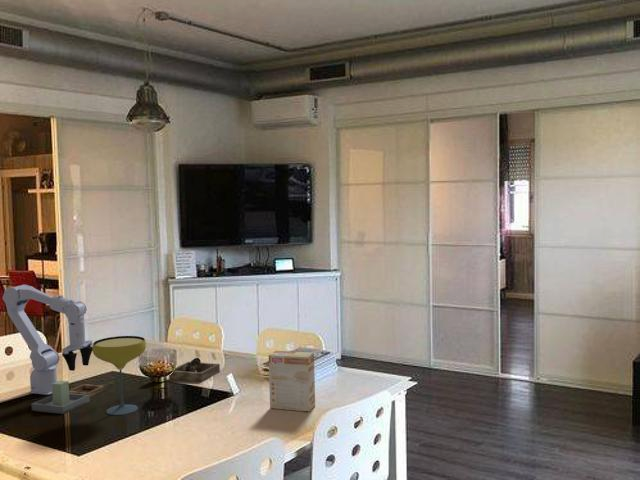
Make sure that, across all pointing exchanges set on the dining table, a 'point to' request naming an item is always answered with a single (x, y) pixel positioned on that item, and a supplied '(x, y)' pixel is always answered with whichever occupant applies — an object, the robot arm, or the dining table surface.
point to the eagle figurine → (192, 365)
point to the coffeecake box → (292, 380)
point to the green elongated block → (60, 393)
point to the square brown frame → (87, 386)
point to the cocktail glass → (119, 361)
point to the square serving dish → (206, 373)
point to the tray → (48, 406)
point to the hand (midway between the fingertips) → (78, 367)
